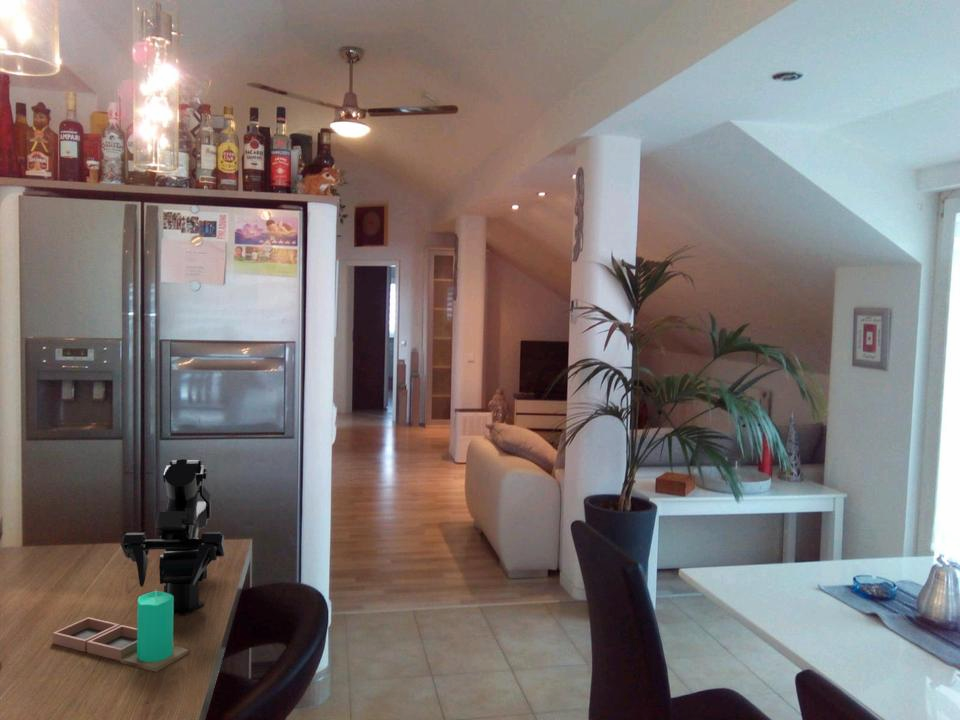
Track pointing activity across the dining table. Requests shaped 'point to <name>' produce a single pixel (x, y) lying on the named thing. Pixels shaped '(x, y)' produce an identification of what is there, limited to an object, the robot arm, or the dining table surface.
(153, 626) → the candle
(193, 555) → the robot arm
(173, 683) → the dining table surface
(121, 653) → the tray
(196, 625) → the dining table surface
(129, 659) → the pad
